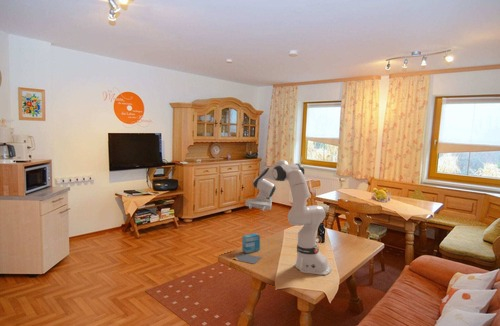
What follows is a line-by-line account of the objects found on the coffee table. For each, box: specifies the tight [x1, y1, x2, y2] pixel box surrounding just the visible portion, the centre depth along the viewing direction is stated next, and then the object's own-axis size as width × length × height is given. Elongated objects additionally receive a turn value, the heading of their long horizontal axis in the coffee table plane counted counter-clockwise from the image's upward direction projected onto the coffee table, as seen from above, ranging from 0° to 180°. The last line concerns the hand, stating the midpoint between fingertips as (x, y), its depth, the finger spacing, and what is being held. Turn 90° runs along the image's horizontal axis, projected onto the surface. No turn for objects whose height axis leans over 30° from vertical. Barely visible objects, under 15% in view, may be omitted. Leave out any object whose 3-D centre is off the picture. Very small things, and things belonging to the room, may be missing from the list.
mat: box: [234, 252, 262, 265], centre depth 209 cm, size 17×11×1 cm, turn 63°
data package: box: [241, 232, 261, 254], centre depth 220 cm, size 12×4×12 cm, turn 117°
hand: (256, 208), depth 228 cm, fingers open, 8 cm apart
